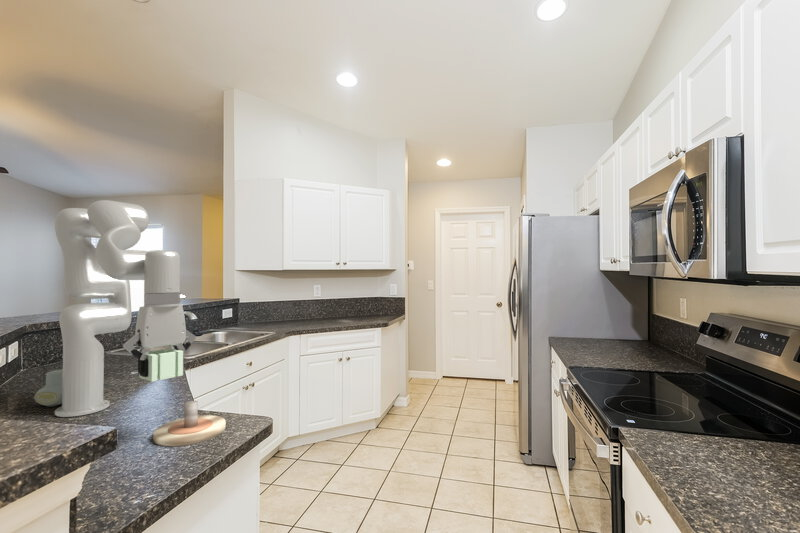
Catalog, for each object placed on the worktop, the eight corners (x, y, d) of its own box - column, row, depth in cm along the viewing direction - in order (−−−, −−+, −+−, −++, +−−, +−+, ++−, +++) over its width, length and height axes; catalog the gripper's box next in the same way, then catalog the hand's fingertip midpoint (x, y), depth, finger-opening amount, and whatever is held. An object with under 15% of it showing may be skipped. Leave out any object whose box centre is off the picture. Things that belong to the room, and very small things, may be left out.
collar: (139, 377, 94) (139, 352, 94) (169, 371, 99) (170, 348, 99) (151, 381, 90) (152, 355, 90) (183, 375, 95) (183, 351, 95)
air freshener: (28, 408, 117) (28, 374, 117) (53, 399, 125) (53, 368, 125) (64, 407, 116) (64, 374, 117) (86, 398, 125) (86, 367, 125)
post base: (141, 436, 95) (141, 405, 95) (204, 416, 108) (204, 389, 109) (173, 452, 86) (174, 418, 86) (238, 428, 100) (238, 399, 100)
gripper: (190, 298, 104) (190, 364, 104) (114, 301, 90) (113, 378, 90) (204, 299, 100) (204, 367, 99) (127, 302, 86) (126, 383, 85)
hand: (161, 372), depth 94 cm, fingers closed on collar, 7 cm apart
